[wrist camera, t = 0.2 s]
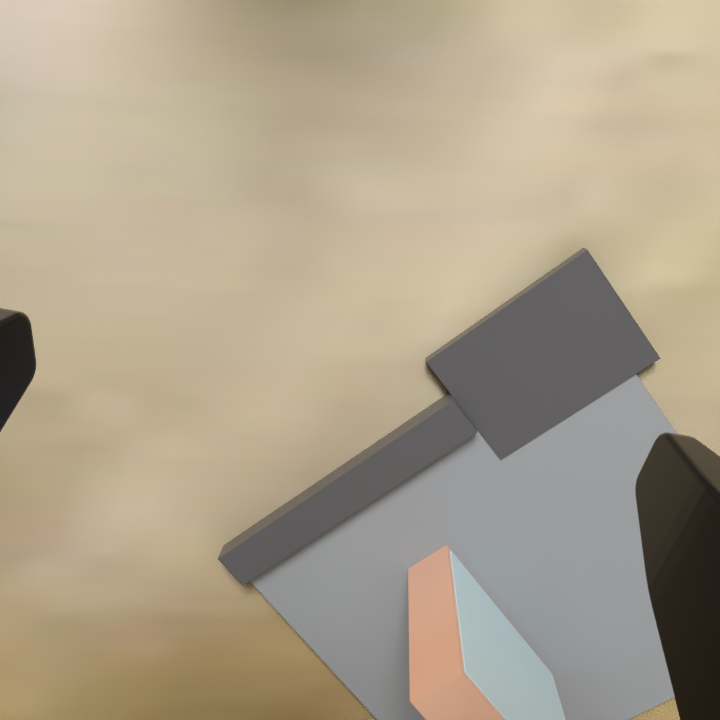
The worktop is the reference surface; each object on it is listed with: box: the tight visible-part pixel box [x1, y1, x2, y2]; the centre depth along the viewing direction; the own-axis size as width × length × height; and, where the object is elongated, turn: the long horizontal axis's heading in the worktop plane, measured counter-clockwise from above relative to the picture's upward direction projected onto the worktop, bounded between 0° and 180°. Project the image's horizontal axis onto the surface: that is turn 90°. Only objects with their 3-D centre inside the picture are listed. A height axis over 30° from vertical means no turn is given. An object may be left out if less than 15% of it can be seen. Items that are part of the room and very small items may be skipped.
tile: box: [408, 545, 566, 720], centre depth 24 cm, size 2×8×7 cm, turn 38°
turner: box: [218, 248, 660, 585], centre depth 25 cm, size 19×5×1 cm, turn 128°
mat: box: [250, 374, 677, 720], centre depth 27 cm, size 18×16×1 cm
